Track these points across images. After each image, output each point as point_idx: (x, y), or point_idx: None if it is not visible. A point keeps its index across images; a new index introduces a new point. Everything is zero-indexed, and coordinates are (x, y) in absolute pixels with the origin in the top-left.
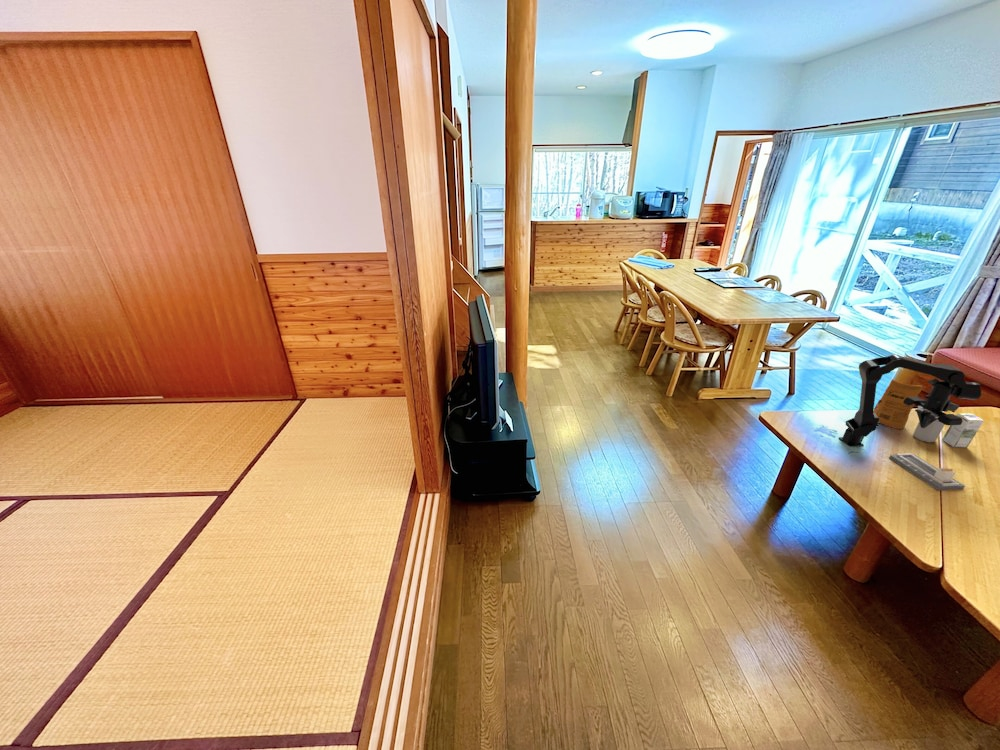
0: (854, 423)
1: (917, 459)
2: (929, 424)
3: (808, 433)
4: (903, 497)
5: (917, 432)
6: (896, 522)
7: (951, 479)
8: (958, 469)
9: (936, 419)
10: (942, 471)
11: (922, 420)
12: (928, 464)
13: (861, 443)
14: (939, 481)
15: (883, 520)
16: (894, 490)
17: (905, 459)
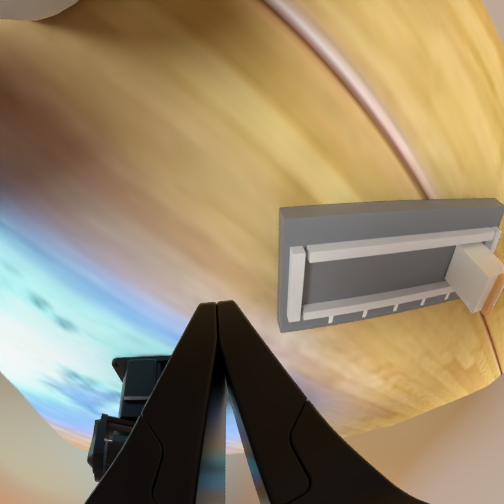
0: (106, 440)
1: (347, 255)
2: (279, 363)
3: None
4: (432, 369)
5: (22, 16)
6: (450, 394)
7: (487, 249)
8: (419, 57)
9: (399, 501)
10: (483, 307)
11: (224, 469)
12: (399, 244)
13: (166, 362)
14: None
15: (438, 406)
16: (410, 375)
17: (338, 314)
